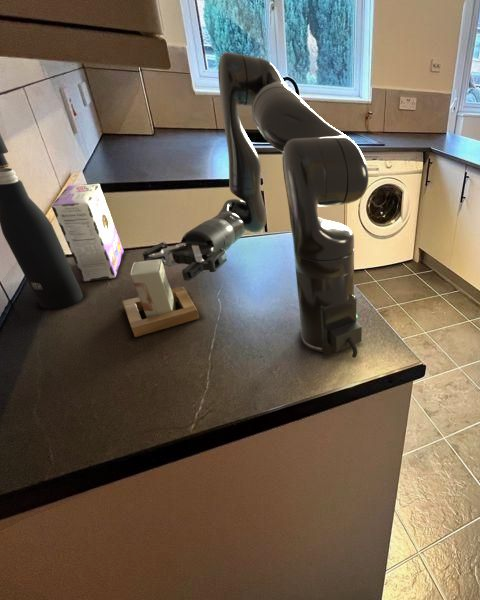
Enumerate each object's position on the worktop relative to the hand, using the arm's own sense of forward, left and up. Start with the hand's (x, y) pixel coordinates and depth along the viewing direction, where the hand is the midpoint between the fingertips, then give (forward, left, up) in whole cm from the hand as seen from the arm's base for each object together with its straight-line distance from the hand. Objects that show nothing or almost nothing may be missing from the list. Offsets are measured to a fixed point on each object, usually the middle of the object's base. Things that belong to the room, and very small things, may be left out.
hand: (162, 273), depth 69 cm
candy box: (+25, +8, -7) cm, 27 cm away
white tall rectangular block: (-2, +2, -7) cm, 8 cm away
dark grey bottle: (+13, +16, -7) cm, 22 cm away
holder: (-2, +2, -7) cm, 8 cm away
